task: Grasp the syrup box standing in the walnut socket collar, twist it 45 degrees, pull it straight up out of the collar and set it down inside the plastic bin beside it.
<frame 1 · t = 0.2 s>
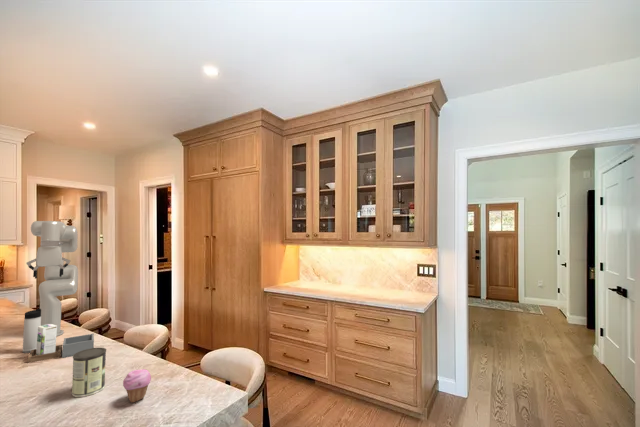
hand: (48, 277, 161), 36 cm above the kitchen island, tool pointing down, fingers open, 9 cm apart
travel mug: (31, 351, 156), on the kitchen island
syrup box: (45, 356, 149), resting in socket collar
coffee can: (88, 390, 118), on the kitchen island
cupcake: (136, 399, 112), on the kitchen island
socket collar: (45, 356, 149), on the kitchen island
bin: (78, 351, 155), on the kitchen island
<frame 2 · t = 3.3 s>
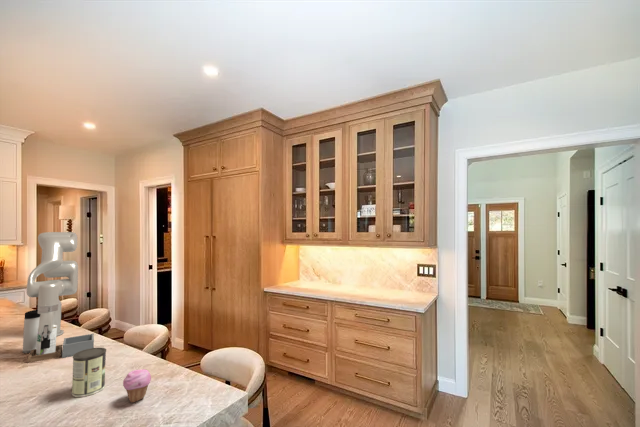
hand: (46, 345, 150), 5 cm above the kitchen island, tool pointing down, fingers closed on syrup box, 7 cm apart
syrup box: (45, 356, 149), resting in socket collar, touching gripper
everything else where it was.
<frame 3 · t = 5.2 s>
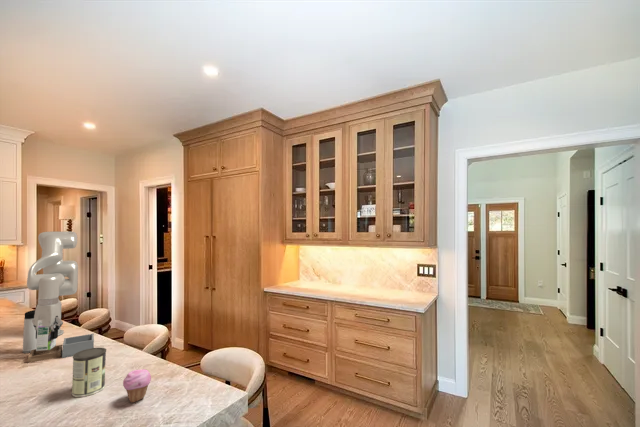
hand: (46, 338, 150), 8 cm above the kitchen island, tool pointing down, fingers closed on syrup box, 7 cm apart
syrup box: (46, 348, 150), point 3 cm above the kitchen island, touching gripper
everything else where it was.
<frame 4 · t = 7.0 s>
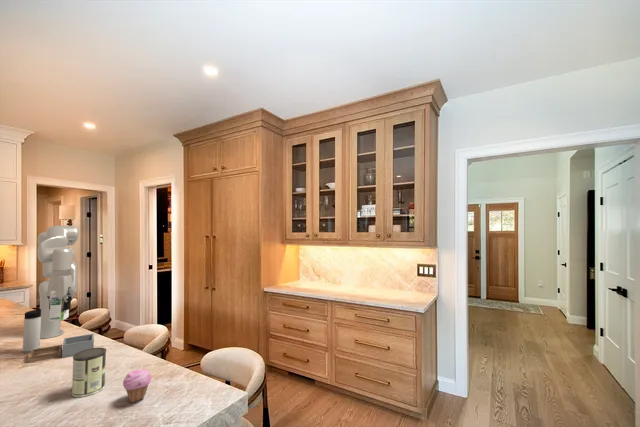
hand: (59, 309, 153), 22 cm above the kitchen island, tool pointing down, fingers closed on syrup box, 7 cm apart
syrup box: (59, 319, 152), point 17 cm above the kitchen island, touching gripper
everything else where it was.
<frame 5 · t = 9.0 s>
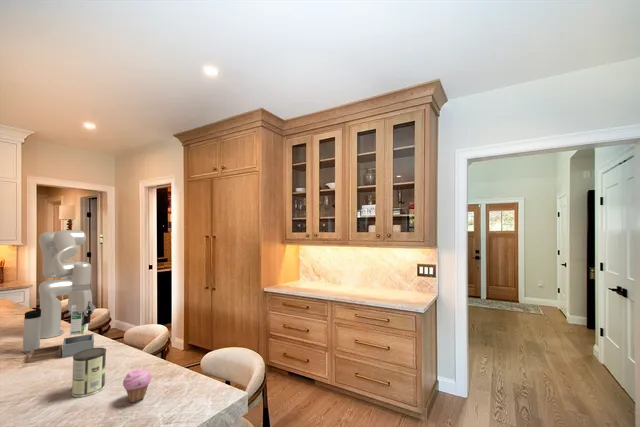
hand: (79, 322, 156), 14 cm above the kitchen island, tool pointing down, fingers closed on syrup box, 7 cm apart
syrup box: (79, 333, 156), point 9 cm above the kitchen island, touching gripper
everything else where it was.
when the fingers open (8 cm above the kitchen island, at t = 10.7 s): syrup box drops 2 cm, resting on bin.
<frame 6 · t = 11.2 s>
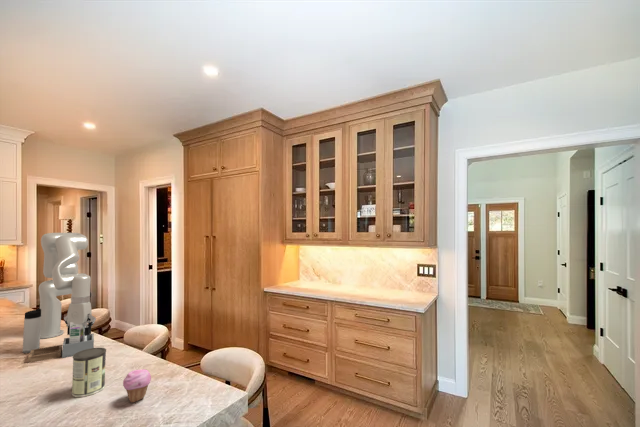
hand: (79, 334, 156), 8 cm above the kitchen island, tool pointing down, fingers open, 9 cm apart
syrup box: (77, 350, 155), point 1 cm above the kitchen island, touching bin
everything else where it was.
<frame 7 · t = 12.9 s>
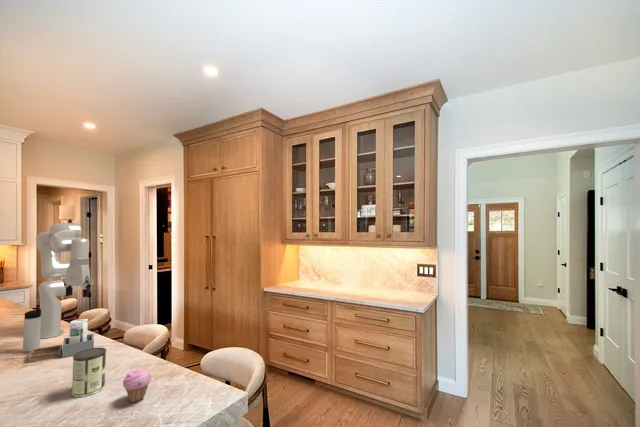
hand: (77, 296, 158), 27 cm above the kitchen island, tool pointing down, fingers open, 9 cm apart
nothing on the kitchen island moved.
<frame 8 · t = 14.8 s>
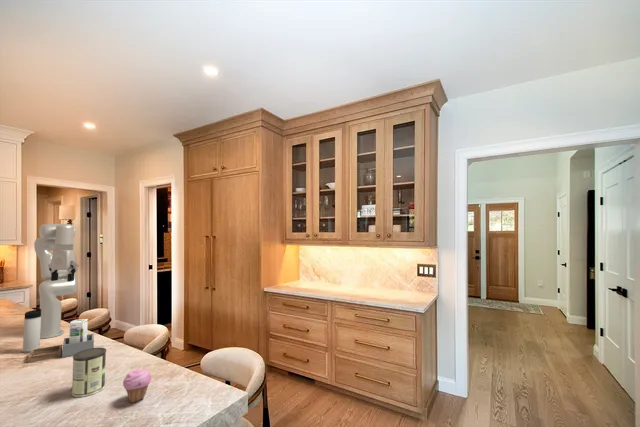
hand: (62, 280, 162), 34 cm above the kitchen island, tool pointing down, fingers open, 9 cm apart
nothing on the kitchen island moved.
at the end: syrup box inside the target area on the bin (0.5 cm from its centre), point 0.6 cm above the bin's base; the gripper is holding nothing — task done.
